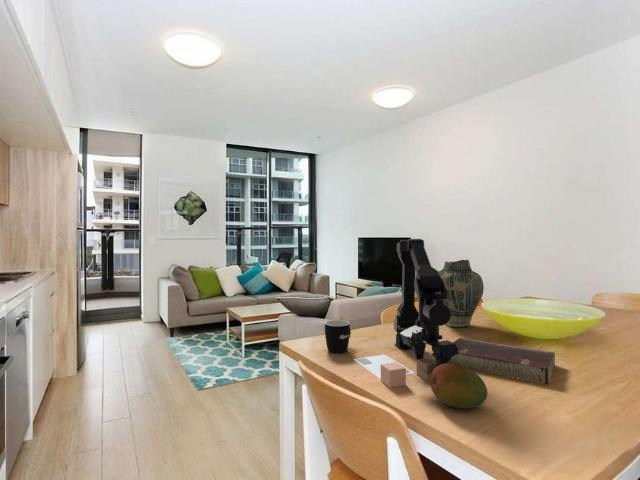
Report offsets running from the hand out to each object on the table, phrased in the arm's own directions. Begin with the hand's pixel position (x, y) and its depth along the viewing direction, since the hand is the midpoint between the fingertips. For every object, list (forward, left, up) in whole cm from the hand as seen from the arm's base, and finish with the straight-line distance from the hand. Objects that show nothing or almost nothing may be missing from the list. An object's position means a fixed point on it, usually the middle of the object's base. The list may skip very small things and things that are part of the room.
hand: (428, 370), depth 108 cm
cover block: (+12, 0, -2) cm, 12 cm away
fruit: (+4, +17, -2) cm, 18 cm away
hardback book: (-27, -1, -3) cm, 27 cm away
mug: (+14, -33, -2) cm, 36 cm away
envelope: (+8, -13, -2) cm, 15 cm away
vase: (-49, -46, -2) cm, 67 cm away
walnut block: (0, 0, -2) cm, 2 cm away
